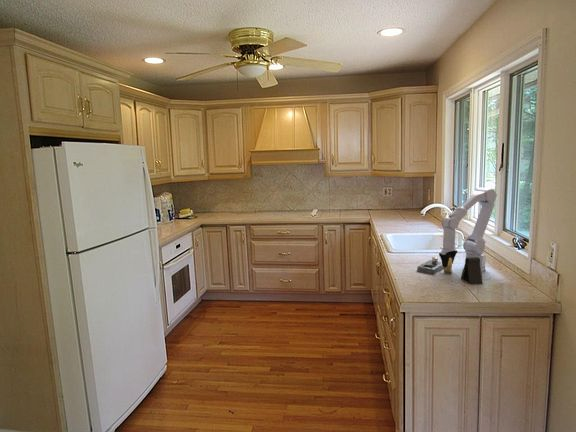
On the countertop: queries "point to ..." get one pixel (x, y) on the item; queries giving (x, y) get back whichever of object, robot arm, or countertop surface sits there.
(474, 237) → the robot arm
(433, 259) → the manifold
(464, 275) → the phone stand
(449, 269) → the cylinder
